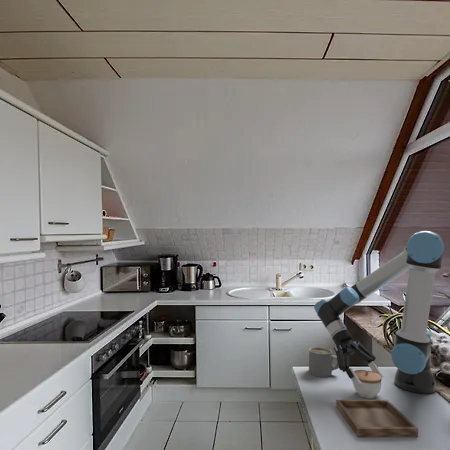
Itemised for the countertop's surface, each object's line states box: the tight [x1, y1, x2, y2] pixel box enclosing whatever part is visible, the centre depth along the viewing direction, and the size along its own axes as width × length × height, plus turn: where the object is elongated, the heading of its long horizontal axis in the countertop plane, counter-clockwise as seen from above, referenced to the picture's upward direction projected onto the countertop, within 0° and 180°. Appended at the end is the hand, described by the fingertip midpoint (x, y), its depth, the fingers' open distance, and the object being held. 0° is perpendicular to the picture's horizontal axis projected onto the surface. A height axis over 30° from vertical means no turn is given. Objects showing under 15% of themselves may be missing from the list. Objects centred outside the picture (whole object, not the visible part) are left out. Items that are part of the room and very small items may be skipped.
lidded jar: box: [352, 369, 383, 399], centre depth 139 cm, size 11×11×9 cm
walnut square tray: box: [335, 399, 419, 438], centre depth 120 cm, size 19×19×2 cm
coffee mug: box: [308, 346, 339, 378], centre depth 160 cm, size 13×10×10 cm
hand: (370, 381), depth 138 cm, fingers open, 13 cm apart
